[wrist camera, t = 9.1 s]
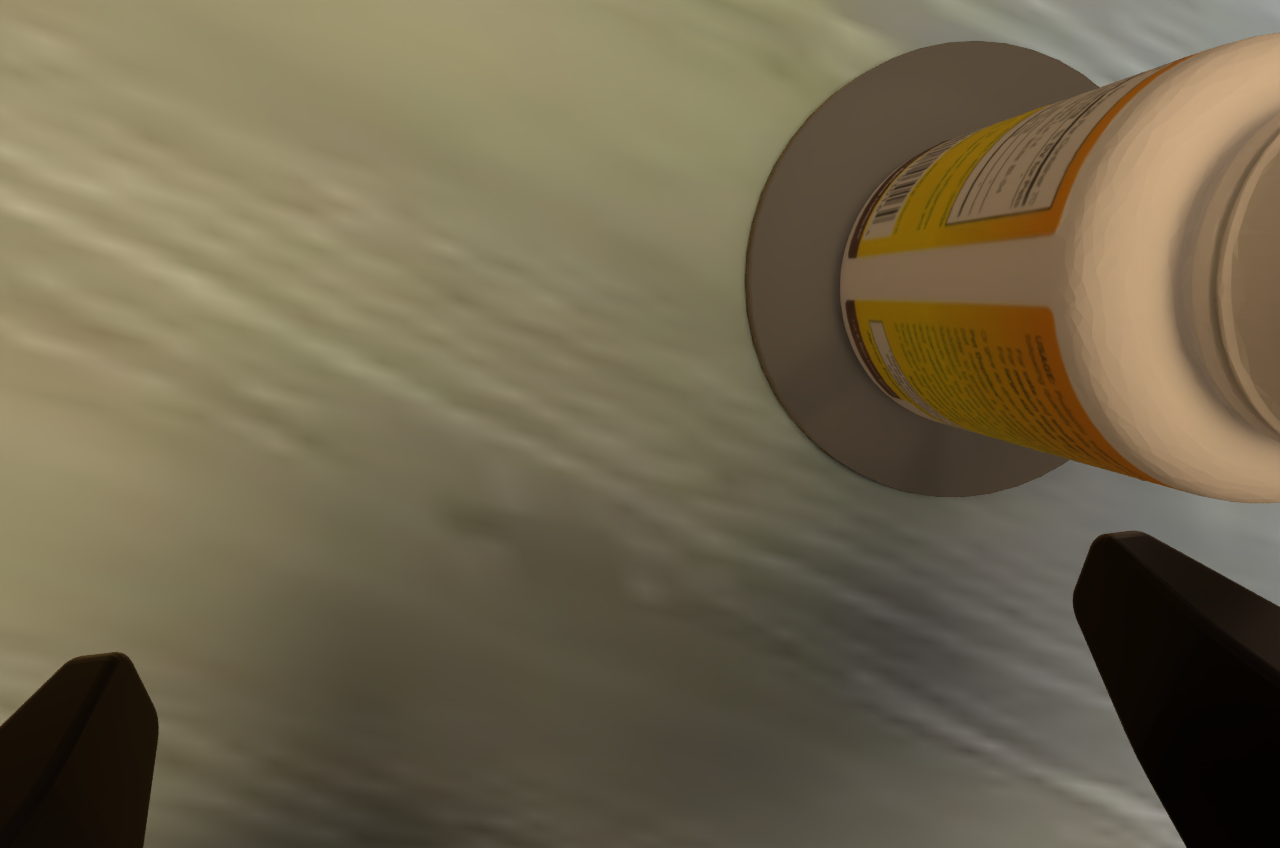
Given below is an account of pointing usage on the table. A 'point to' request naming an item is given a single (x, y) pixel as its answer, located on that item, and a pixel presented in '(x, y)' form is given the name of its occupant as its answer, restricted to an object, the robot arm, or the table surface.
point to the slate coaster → (815, 244)
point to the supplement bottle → (1094, 277)
